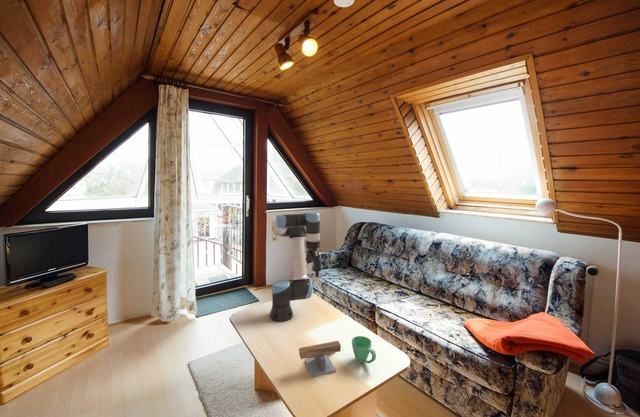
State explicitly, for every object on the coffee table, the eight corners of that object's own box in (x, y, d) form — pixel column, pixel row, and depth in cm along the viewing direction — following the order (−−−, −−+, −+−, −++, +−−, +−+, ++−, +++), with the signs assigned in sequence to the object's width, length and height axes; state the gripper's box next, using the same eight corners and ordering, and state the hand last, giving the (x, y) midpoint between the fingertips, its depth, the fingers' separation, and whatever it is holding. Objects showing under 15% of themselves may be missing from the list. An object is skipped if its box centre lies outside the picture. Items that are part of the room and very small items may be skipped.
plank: (299, 354, 139) (299, 347, 138) (337, 347, 145) (338, 340, 144) (301, 359, 135) (301, 352, 135) (340, 351, 141) (340, 344, 141)
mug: (347, 358, 147) (347, 339, 146) (361, 351, 152) (362, 334, 151) (367, 374, 135) (367, 354, 134) (382, 366, 140) (382, 347, 139)
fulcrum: (305, 361, 145) (305, 348, 144) (327, 356, 148) (327, 344, 147) (311, 377, 133) (311, 363, 132) (335, 371, 137) (336, 358, 136)
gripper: (300, 236, 167) (300, 271, 169) (312, 246, 143) (312, 287, 145) (313, 235, 169) (313, 270, 171) (326, 245, 145) (326, 285, 148)
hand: (313, 278), depth 158 cm, fingers open, 13 cm apart
